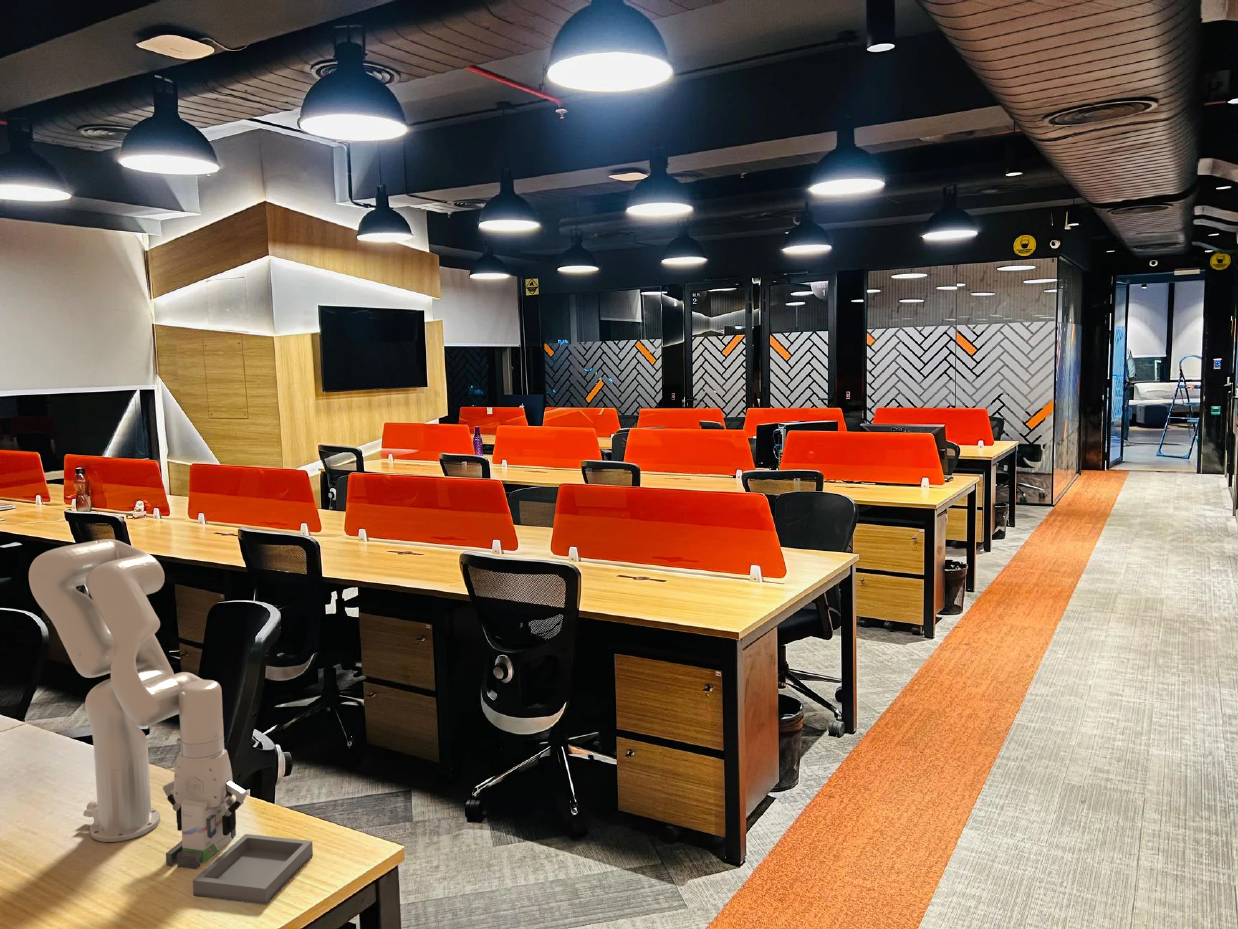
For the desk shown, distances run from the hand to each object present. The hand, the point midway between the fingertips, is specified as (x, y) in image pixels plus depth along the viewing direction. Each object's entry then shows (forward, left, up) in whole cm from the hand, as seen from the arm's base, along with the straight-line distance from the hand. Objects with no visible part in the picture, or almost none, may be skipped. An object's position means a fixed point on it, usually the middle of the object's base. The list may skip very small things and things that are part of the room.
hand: (206, 829), depth 175 cm
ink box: (0, 0, -5) cm, 5 cm away
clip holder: (-1, 0, -4) cm, 4 cm away
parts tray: (+14, -6, -4) cm, 16 cm away
